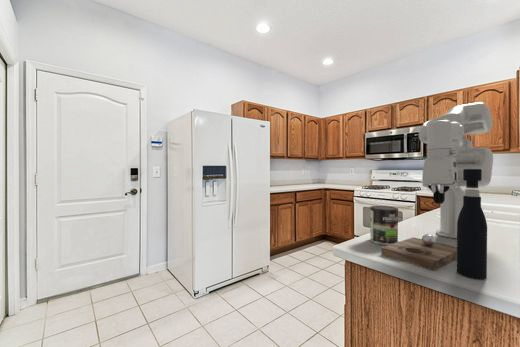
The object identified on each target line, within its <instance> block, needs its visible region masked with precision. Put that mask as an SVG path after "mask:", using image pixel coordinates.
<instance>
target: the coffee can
mask: <svg viewBox="0 0 520 347" xmlns="http://www.w3.org/2000/svg"><path fill="white" fill-rule="evenodd" d="M369 208H370V236H369V237H370V242H372V243H374V244H377V245H382V246H387V245H390V244H394V243H397V242H399V240H398V239H399V238H398V236H399V230H398V229H399V207H395V206H386V205H373V206H370V207H369Z"/></svg>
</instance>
